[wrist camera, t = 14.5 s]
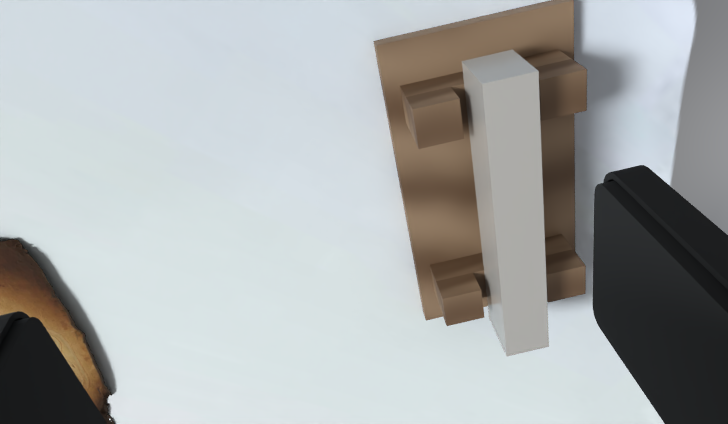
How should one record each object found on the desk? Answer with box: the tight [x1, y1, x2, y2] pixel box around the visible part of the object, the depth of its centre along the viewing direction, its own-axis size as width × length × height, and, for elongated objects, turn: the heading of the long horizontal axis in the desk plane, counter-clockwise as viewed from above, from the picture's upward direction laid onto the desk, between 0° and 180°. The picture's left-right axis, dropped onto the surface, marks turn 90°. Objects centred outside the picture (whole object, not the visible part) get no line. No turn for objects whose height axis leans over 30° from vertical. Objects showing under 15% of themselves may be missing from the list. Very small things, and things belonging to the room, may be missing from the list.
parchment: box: [0, 239, 114, 424], centre depth 45 cm, size 25×10×1 cm, turn 6°
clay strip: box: [462, 49, 549, 356], centre depth 38 cm, size 20×3×4 cm, turn 11°
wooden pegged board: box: [374, 0, 587, 326], centre depth 40 cm, size 22×12×5 cm, turn 11°
